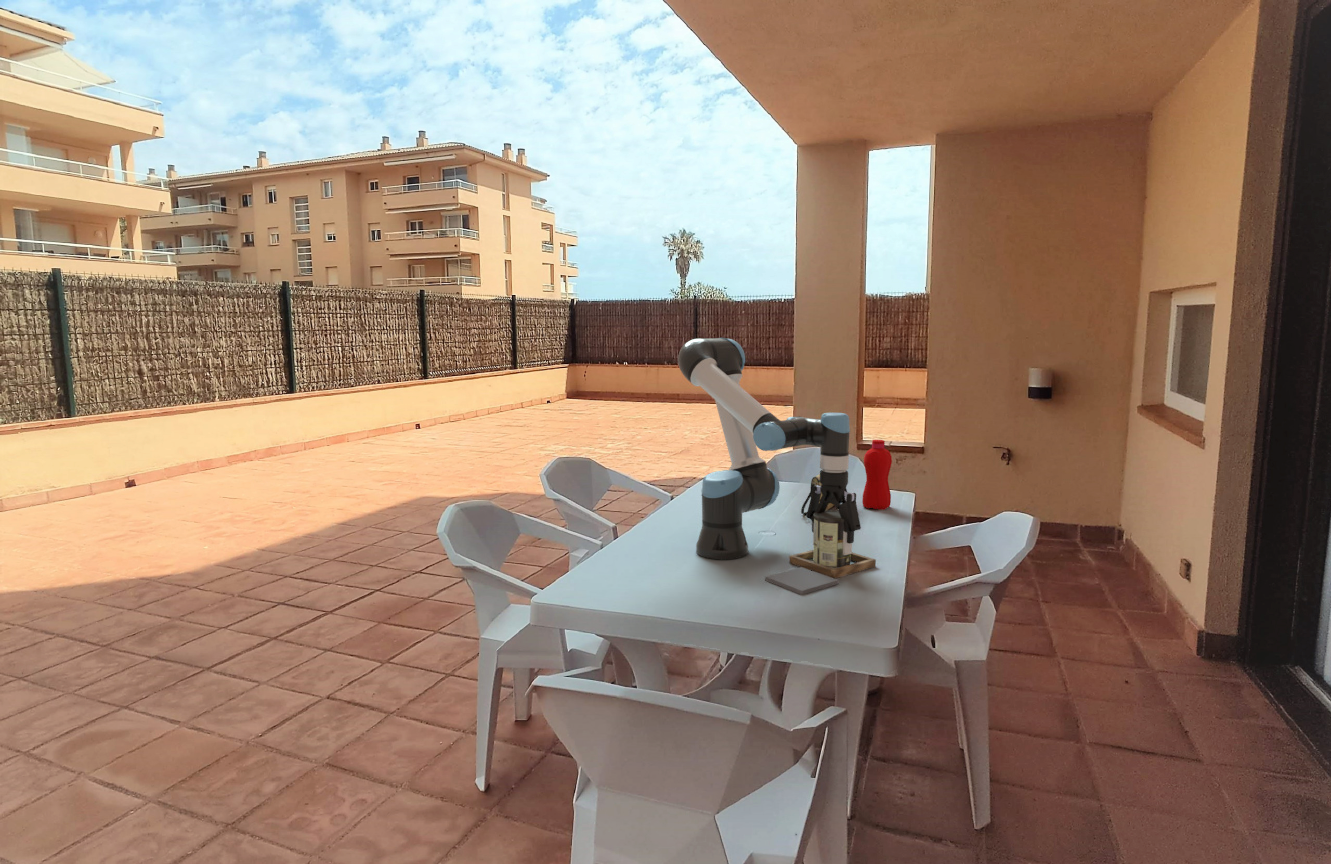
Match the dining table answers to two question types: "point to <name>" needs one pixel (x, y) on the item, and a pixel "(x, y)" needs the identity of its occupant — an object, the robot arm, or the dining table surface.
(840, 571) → the frame
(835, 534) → the coffee can
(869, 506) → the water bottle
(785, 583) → the mat
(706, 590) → the dining table surface
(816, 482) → the clutch purse
